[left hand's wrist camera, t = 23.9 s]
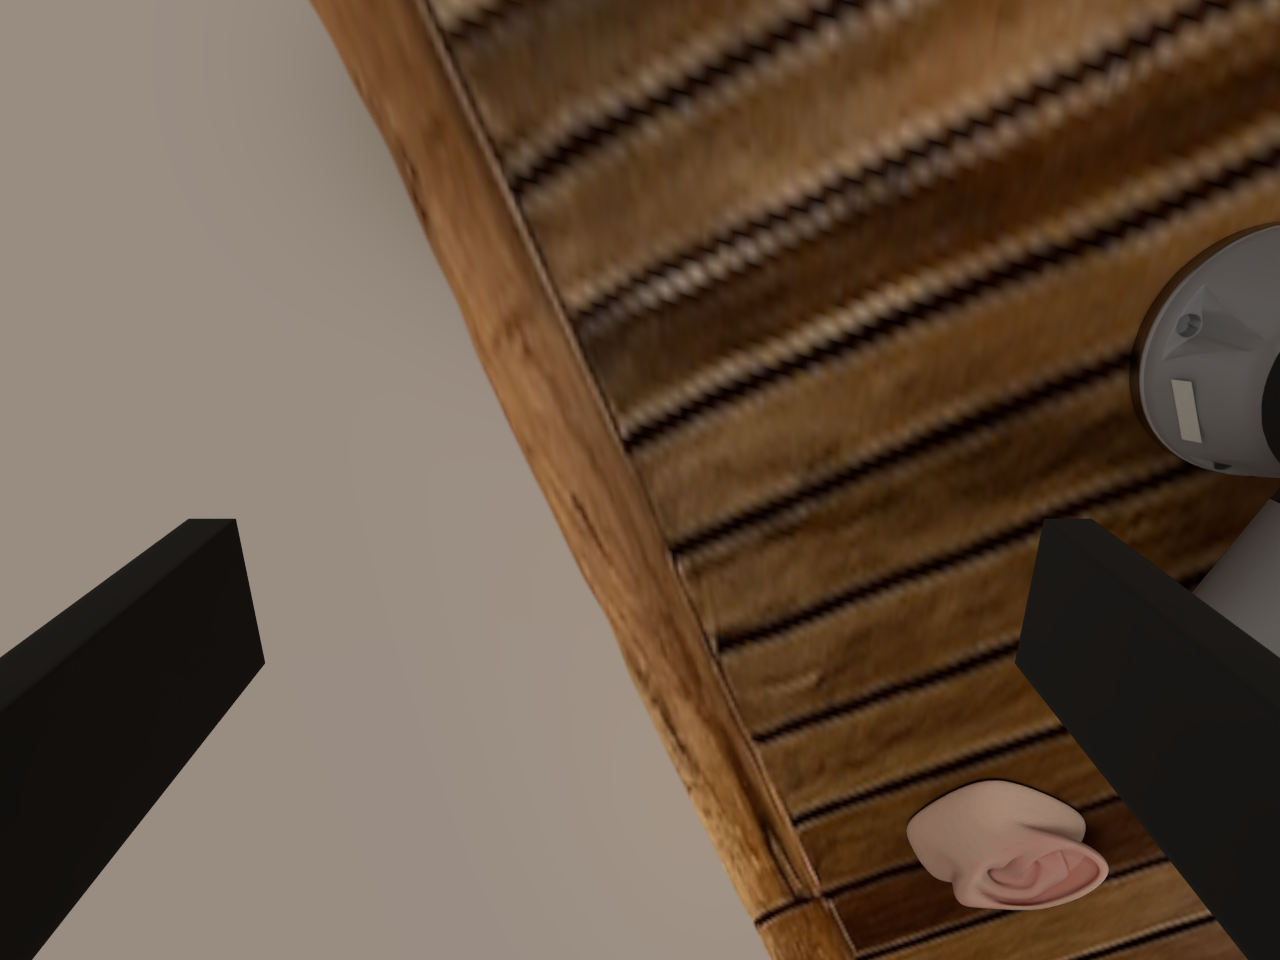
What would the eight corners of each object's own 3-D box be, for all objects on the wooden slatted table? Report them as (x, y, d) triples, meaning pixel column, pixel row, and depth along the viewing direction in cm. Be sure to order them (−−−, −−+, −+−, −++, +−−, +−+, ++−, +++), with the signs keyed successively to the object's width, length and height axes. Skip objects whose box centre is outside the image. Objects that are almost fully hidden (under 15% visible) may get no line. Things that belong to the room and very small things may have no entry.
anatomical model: (897, 886, 58) (1006, 788, 55) (881, 844, 62) (982, 750, 59) (1022, 958, 61) (1133, 869, 58) (1000, 914, 65) (1103, 827, 61)
